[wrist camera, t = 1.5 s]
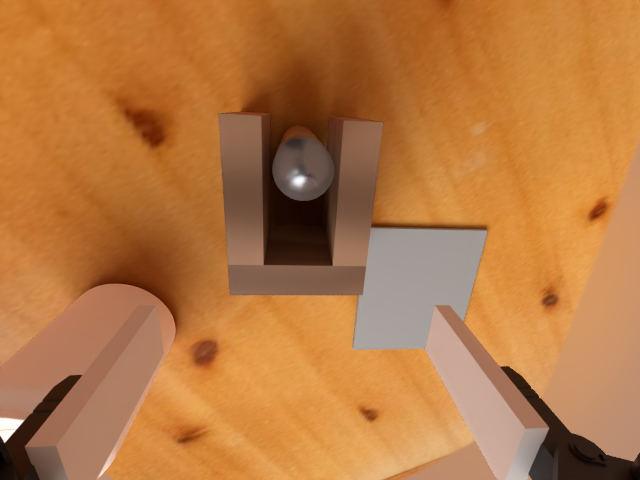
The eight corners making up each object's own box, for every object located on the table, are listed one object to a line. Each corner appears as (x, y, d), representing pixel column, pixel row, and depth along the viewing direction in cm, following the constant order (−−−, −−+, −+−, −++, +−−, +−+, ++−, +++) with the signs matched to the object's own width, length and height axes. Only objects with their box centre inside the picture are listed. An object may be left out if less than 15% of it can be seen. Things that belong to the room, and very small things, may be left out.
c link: (345, 248, 26) (362, 295, 20) (245, 247, 25) (229, 294, 19) (357, 118, 22) (383, 122, 16) (240, 111, 22) (218, 113, 15)
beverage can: (181, 287, 26) (100, 417, 15) (175, 363, 29) (104, 519, 18) (73, 271, 25) (-99, 401, 14) (78, 352, 28) (-62, 513, 17)
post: (280, 124, 22) (272, 137, 13) (318, 126, 22) (336, 140, 13) (280, 162, 23) (272, 200, 14) (316, 164, 23) (332, 201, 14)
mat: (366, 226, 26) (367, 228, 25) (485, 229, 26) (487, 230, 26) (352, 346, 30) (353, 349, 30) (454, 345, 31) (456, 348, 31)
